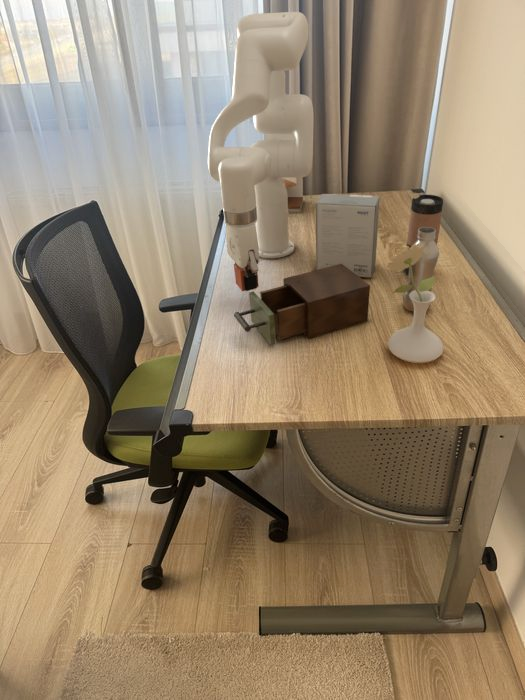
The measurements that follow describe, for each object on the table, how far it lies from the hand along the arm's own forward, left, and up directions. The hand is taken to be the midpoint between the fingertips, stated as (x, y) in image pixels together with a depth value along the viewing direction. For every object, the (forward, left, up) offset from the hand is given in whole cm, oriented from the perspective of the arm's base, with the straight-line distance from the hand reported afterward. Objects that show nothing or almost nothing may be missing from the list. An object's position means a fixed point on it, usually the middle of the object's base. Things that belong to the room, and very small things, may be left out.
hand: (247, 283), depth 127 cm
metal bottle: (+23, +35, -6) cm, 42 cm away
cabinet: (+16, +14, -5) cm, 21 cm away
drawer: (+16, +1, -4) cm, 16 cm away
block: (0, 0, 0) cm, 0 cm away
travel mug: (+8, +47, -6) cm, 47 cm away
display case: (-56, +38, -6) cm, 68 cm away
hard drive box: (-3, +31, -6) cm, 31 cm away
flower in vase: (+37, +23, -6) cm, 43 cm away
